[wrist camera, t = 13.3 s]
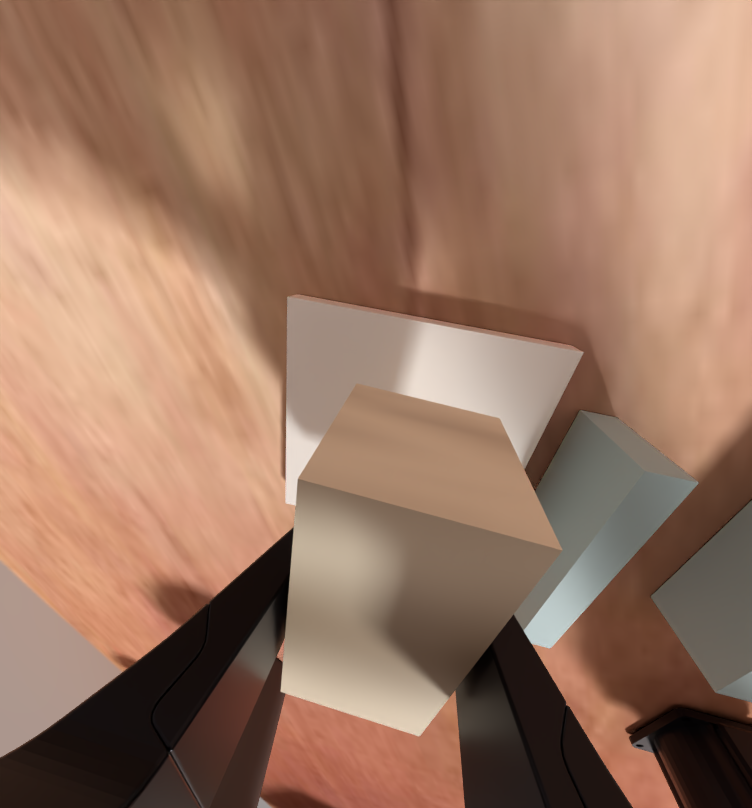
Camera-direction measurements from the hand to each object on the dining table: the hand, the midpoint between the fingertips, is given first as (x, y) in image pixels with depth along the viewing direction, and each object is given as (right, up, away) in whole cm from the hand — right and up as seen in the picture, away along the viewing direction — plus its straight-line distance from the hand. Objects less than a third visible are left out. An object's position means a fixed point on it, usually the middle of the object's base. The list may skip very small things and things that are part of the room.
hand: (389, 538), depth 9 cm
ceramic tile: (+1, +3, +5) cm, 6 cm away
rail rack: (+12, -2, +5) cm, 13 cm away
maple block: (0, +1, +1) cm, 1 cm away
